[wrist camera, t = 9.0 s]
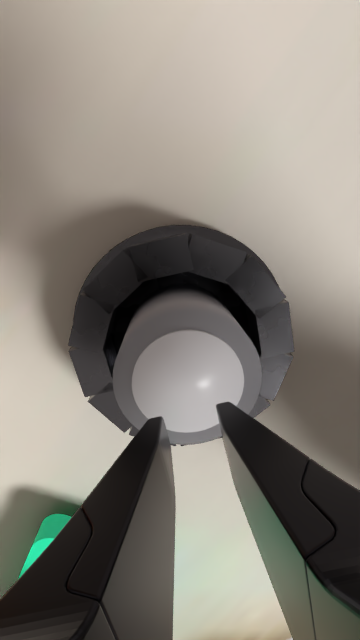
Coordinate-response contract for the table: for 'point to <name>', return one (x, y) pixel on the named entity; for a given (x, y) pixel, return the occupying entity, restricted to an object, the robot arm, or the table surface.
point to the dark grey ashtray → (167, 269)
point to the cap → (185, 364)
